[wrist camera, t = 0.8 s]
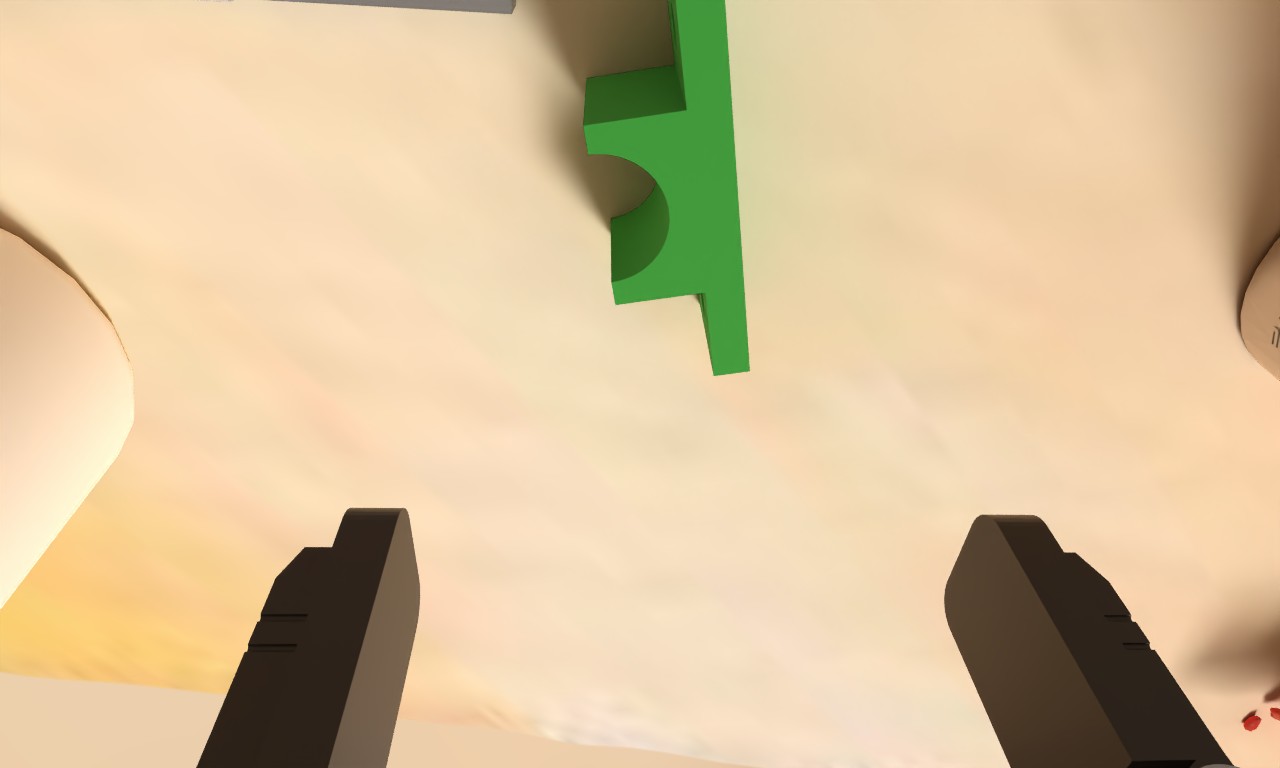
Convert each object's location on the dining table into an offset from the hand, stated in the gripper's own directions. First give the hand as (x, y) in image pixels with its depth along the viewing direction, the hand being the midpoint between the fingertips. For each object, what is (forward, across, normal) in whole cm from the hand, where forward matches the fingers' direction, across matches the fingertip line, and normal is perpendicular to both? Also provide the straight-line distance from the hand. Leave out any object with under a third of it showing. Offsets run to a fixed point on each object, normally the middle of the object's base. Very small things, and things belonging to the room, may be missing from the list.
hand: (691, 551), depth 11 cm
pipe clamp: (+17, -1, 0) cm, 17 cm away
